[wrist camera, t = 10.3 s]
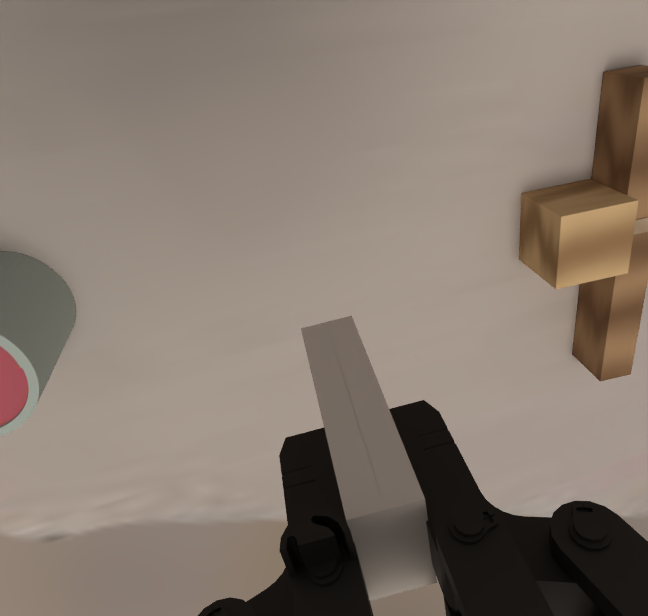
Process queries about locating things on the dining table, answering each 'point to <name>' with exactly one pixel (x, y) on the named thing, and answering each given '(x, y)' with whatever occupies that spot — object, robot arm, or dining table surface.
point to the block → (577, 232)
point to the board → (644, 185)
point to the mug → (29, 333)
